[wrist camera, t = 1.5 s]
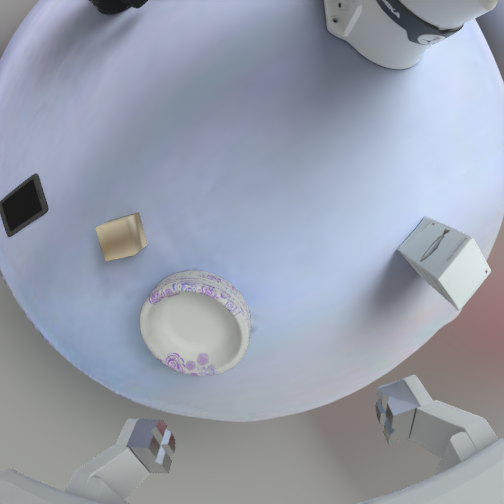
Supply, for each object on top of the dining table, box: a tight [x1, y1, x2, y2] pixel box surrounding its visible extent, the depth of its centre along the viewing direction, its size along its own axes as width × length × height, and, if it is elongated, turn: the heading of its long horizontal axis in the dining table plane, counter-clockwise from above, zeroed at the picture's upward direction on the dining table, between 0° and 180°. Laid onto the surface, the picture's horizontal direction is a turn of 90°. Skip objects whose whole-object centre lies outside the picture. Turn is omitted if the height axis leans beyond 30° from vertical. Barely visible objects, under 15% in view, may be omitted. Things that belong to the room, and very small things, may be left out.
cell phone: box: [0, 174, 48, 237], centre depth 40 cm, size 7×14×1 cm, turn 108°
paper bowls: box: [140, 270, 251, 376], centre depth 41 cm, size 15×15×8 cm
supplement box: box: [397, 216, 491, 311], centre depth 35 cm, size 7×7×13 cm
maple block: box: [95, 212, 148, 261], centre depth 39 cm, size 5×5×5 cm
